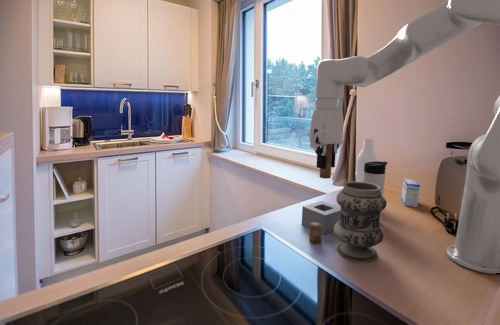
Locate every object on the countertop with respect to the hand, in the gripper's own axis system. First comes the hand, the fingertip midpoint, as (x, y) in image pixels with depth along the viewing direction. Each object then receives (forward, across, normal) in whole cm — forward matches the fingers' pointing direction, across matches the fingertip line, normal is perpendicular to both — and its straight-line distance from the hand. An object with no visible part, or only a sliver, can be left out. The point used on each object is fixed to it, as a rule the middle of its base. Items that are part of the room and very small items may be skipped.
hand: (325, 166), depth 90 cm
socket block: (+19, 0, 0) cm, 19 cm away
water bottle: (+19, -29, -5) cm, 35 cm away
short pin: (+19, +10, +6) cm, 22 cm away
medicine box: (+19, -44, +5) cm, 48 cm away
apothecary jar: (+19, +6, +16) cm, 26 cm away
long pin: (+3, 0, 0) cm, 3 cm away
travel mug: (+19, -15, +7) cm, 25 cm away
